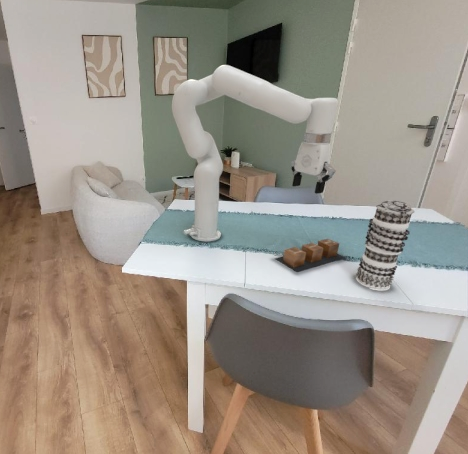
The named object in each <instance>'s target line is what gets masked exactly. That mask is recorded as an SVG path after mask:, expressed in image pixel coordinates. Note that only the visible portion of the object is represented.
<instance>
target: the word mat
mask: <svg viewBox="0 0 468 454" xmlns="http://www.w3.org/2000/svg"><path fill="white" fill-rule="evenodd" d="M283 258H284V255H283V256H278V257H275V258H274V260H275V261H277V262H279V263H280V264H282V265H284V266H285V267H287V268H289V269H290V270H291V271H293V272H295V273H300V272H304V271H307V270H311V269H314V268H317V267H322V266H324V265H327V264H331V263H335V262H338V261H342V260H344V259H346V257H345V256H343V255H341V254H339V253H337V255H336V256H332V257H329V258H326V257H324V256H322V258H321V260H319V261H315V262H312V263H311V262H309V261H307V260H305V261H304V265H301V266H297V267H294V268H293V267H291V266H290V265H288V264H286V263H285V262H283Z"/></svg>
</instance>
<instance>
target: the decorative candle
mask: <svg viewBox="0 0 468 454" xmlns="http://www.w3.org/2000/svg"><path fill="white" fill-rule="evenodd" d="M375 208H376V209H375V213H374V216H373V217H372V218H370V219H369V223H368V225H367V227H368V229H367V231H366V236H365V239H366V240H365V242H364V246H365V250H364V252H363V254H362V257H361V258H360V259H359V261H360V262H359V264H358V268H357V272H356V273H355V276H356V277H355V279H356V281H357V282H358V283H359V284H361V285H362V286H364V287H366V288H369V289H370V290H373V291H379V292H384V291H388V290H390V288H391V286H392V284H393V280H394V278H395V276H394V275H395V273H396V271H397V268H398V266H397V262H398V257H399V255H400V254H402V253H403V252H404V247H405V246H406V243H405V242H404V241H407V240H408V239H409V237H408V235H410V232H411V231H409V227H410V223H411V218H412V215H413V214H414V213H415V210H414V209H412V207H411V205H410V204H409V203H406V202H404V201H399V200H385V201H382V202H381V203H379V204H377V205H376V206H375Z"/></svg>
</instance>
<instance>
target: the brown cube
mask: <svg viewBox="0 0 468 454" xmlns="http://www.w3.org/2000/svg"><path fill="white" fill-rule="evenodd" d="M300 250H302V251H304V252H306V256H305V260H307V261H309V262H311V263H312V262H315V261H319V260H321V258H322V253H323V248H322V247H320V246H318V244H317V243H314V242H310V243H305V244H302V245H301V249H300Z"/></svg>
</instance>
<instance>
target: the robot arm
mask: <svg viewBox="0 0 468 454" xmlns="http://www.w3.org/2000/svg"><path fill="white" fill-rule="evenodd" d="M223 96H226V97H229V98H231V99H233V100H236V101H238V102H240V103H242V104H244V105H247V106H249V107H251V108H253V109H258V110H260V111H263V112H265V113H268V114H270V115H272V116H275V118H279V119H281V120H283V121H285V122H288V123H291V124H293V125H294V124H296V125H297V124H302V123H303V122H305V121H307V122H306V127H305V133H304V134H303V135H302V137H303V141H301V143H300V146H299V147H298V151H297V155H296V157H295V159H293V160H291V161H290V166H291V168H290V169H291V171H292V175H293V178H292V179H293V180H292V187H299V186H301V183H302V178H303V175H302V174H304V175H305V174H306V175H309V176H316V178H317V180H318V181H317V182H316V183H315V188H314V194H316V195H318V194H322V193H324V190H325V186H326V183H327V182H328V181H329V180H331V179H332V177H333V176H334V175H335V174H336V171H337V170H336V169H335V168H334V167H333V166H332V165H330V160H331V151H332V149H331V148H332V147H331V145H332V144H331V138H332V133H333V129H334V124H335V120H336V116H337V110H338V107H339V99H338V98H336V97H316V98H305V97H303V96H301V95H298V94H296V93H293V92H291V91H288V90H287V89H284V88H281V87H280V86H276V85H275V84H272V83H271V82H269V81H267V80H265V79H263V78H260V77H258V76H256V75H253V74H251V73H248V72H246V71H244V70H241V69H239V68H237V67H234V66H231V65H229V64H222V65H219V66H218V67H217V68H216V69H215V70H214V71H213V73H212V74H210V75H207V76H205V77H203V78H200V79H198V80H197V79H188V80H185V81H183V82H181V84H180V85H179V86H178V87H177V88H176V90H175V92H174V94H173V96H172V101H171V112H172V117H173V119H174V122H175V124H176V126H177V130H178V133H179V136H180V137H181V140H182V143H183V146H184V148H185V151H186V153H187V156H189V157H190V158H192V159H194V160H196V163H197V165H196V167H195V169H194V172H193V185H194V220H193V222H194V223H193V225H191V227H190V228H188V229H184V230H183V234H184V235H189V236H190V237H191V238H192V239H193V240H195V241H198V242H202V243H203V242H205V243H206V242H208V243H209V242H215V241H217V240H219V239H220V238H221V235H222V233H221V231H220V230H218V225H219V223H218V222H219V201H220V177H221V175H222V173H223V171H224V164H223V160H222V158H221V155H220V152H219V150H218V147H217V144H216V141H215V139H214V137H213V136H212V134H211V133H210V132H209V131H205V130H204V127H203V125H202V123H201V119H200V116H199V115H198V113H197V110H196V107H198V106H201V105H204V104H206V103H208V102H211V101H213V100H216V99H219V98H221V97H223Z"/></svg>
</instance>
